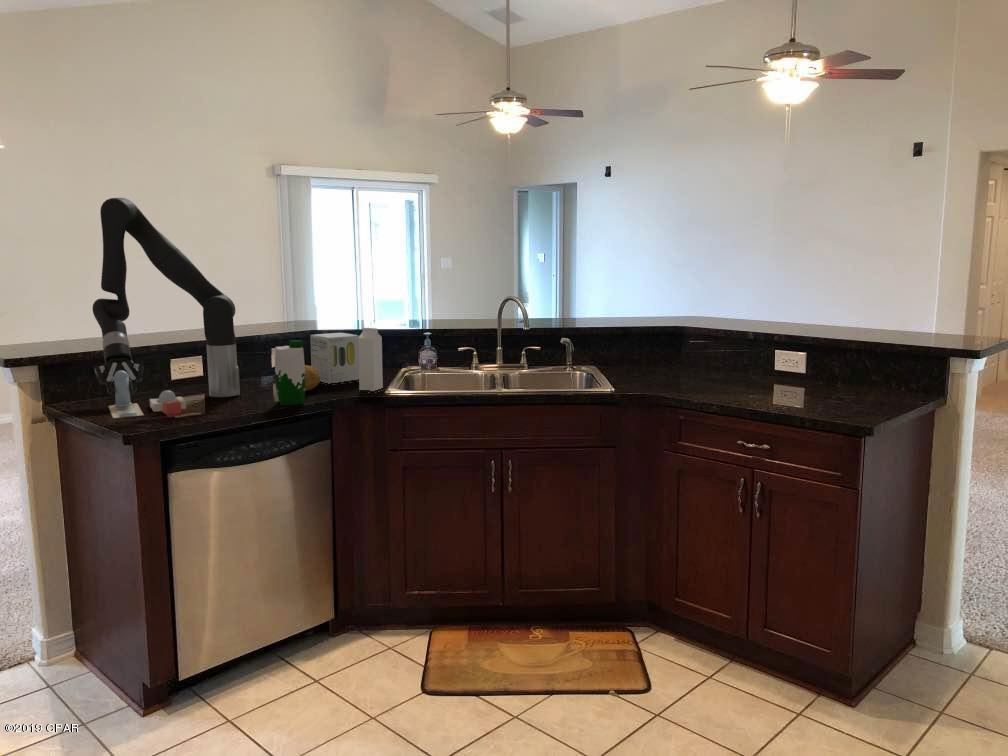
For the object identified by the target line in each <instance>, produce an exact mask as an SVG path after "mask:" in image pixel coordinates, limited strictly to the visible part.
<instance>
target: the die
mask: <svg viewBox="0 0 1008 756" xmlns="http://www.w3.org/2000/svg"><path fill="white" fill-rule="evenodd" d="M162 408H163V411H162V413H164V415H163V416H164V417H166V418H172V417H177V416H178V417H180V416H182V409H181V402H179V401H177V400H172V401H163V402H162Z"/></svg>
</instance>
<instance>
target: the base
mask: <svg viewBox="0 0 1008 756" xmlns="http://www.w3.org/2000/svg"><path fill="white" fill-rule="evenodd" d="M176 399H177V401H179V402H181V410H187V401H186V400H185V399H184V398H183V397H182V396H176ZM149 406H150V408H151V409H152V411H153V413H154V412H163V408H162V403H159V399H158V398H149Z"/></svg>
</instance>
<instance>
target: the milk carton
mask: <svg viewBox="0 0 1008 756" xmlns="http://www.w3.org/2000/svg"><path fill="white" fill-rule="evenodd" d="M288 344H289V345H283V346H275V352H274V353H275V354H274V375H275V376H274V377H275V378H274V379H275V390H276V393H277V398H278V402H279V404H281V405H283V406H296V405H297V404H299V405H305V398H306V397H305V396H306V392H305V365H306V364H305V354H304V347H303V340H302V339H291V340H289V341H288ZM281 405H280V406H281ZM297 406H298V405H297Z"/></svg>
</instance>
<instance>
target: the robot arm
mask: <svg viewBox="0 0 1008 756" xmlns="http://www.w3.org/2000/svg"><path fill="white" fill-rule="evenodd" d="M100 221H101V223H100V224H101V233H102V264H101V265H102V267H101V282H100V288H101V289H102V291H103V292H106V293H110V294H114V295H116V297H117V299H114V298H113V299H112V298H98V299H96V300H95V301H94V302H93V304H92V314H93V316H94V318H95V320H96V322H97V323H98V325H99V328H100V329H101V336H102V351H103V358H104V364H103V365H100V366H99V365H98V364H97V365H94V374H95V376H96V378H97V381H98V382H99V384H100V385H101V386H102V385H103V386H106V389H107V391H106V392H107V393H108V395H110V396H114V388H113V382H114V374H115V373H116V372H117V371H120V370H123V371H125V372H127V374H128V376H129V383H130V387H131V389H130V390H131V393H132V395H134V394H136V392H137V391H138V387H137V383H142V381H143V376H144V362H139V363H134V361H133V359H132V352H131V346H130V341H129V338H128V332H127V326H126V324H125V322H124V321H127V320H128V318H129V316H130V307H129V302H128V299H127V292H126V291H127V289H126V283H127V270H128V269H127V268H128V267H127V259H126V258H127V257H126V253H125V234H126V232H127V233H128V234H129V235H130V236H131V237H132V238H133V239H135V241H136V242H137V243H138V244H139V246H140V247H141V248H142V251H144V253H145V255H146V257H147V258H148V260H149V261H150V262H151V264H152V265H153V266H154V267H155V268H156V269H157V270H158V272H160V273H161V274H162V275H163V276H165V278H166V279H168V280H169V281H170V282H172V283H173V284H174V285H175V286H177V287H179V288H180V289H181V290H183V291H184V292H187V294H189V295H190V296H191V297H192V298H193V299H194V300H195V301H197V303H198V304H199V305H200V306H201V307H202V308H203V309H202V318H203V331H204V333H203V334H204V338H205V342H206V356H207V362H206V363H207V375H208V376H207V377H208V393H209V395H208V396H209V397H212V398H229V397H235V396H240V395H241V389H240V388H241V387H240V369H239V366H238V360H237V359H238V358H237V357H238V356H237V340H236V334H235V325H234V324H235V323H234V317H235V314H236V306H235V303H234V302H233V300H232V299H231V298H229V296H227V295H226V294H225V293H224V292H222V291H221V290H219V289H218V288H217V287H216V286H215V285H213V284H212V283H211V282H210V280H208V279H207V278H206V277H205V275H204V274H202V272H201V270H199V268H198V267H196V266H195V265H194V263H193V262H192V261H191V260H190V258H188V257H187V256H186V255H185V254H184V253H183V252H182V251H181V250H180V249H179V248H178V247H177V246H176V245H175V244H173V242H172V241H170V240H169V238H167V237H166V236H165V235H164V234H163V233H161V232H160V230H158V229H157V227H155V226H154V225H153V224H152V223H151V221H150V220H149V219H148V218H147V217H146V215H144V214H143V212H142V211H141V209H140V208H139V207H138V206H137V205H136V204H135V203H134V202H133V201H131V200H130V199H128V198H126V197H125V198H124V197H111V198H108V199H106V200H105V201H104V202H102V204H101V206H100ZM133 369H135V371H137V376H135V374H134V373H133ZM104 371H106V372H107V373H108V375H107V378H105V377H104V375H103V373H104Z"/></svg>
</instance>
